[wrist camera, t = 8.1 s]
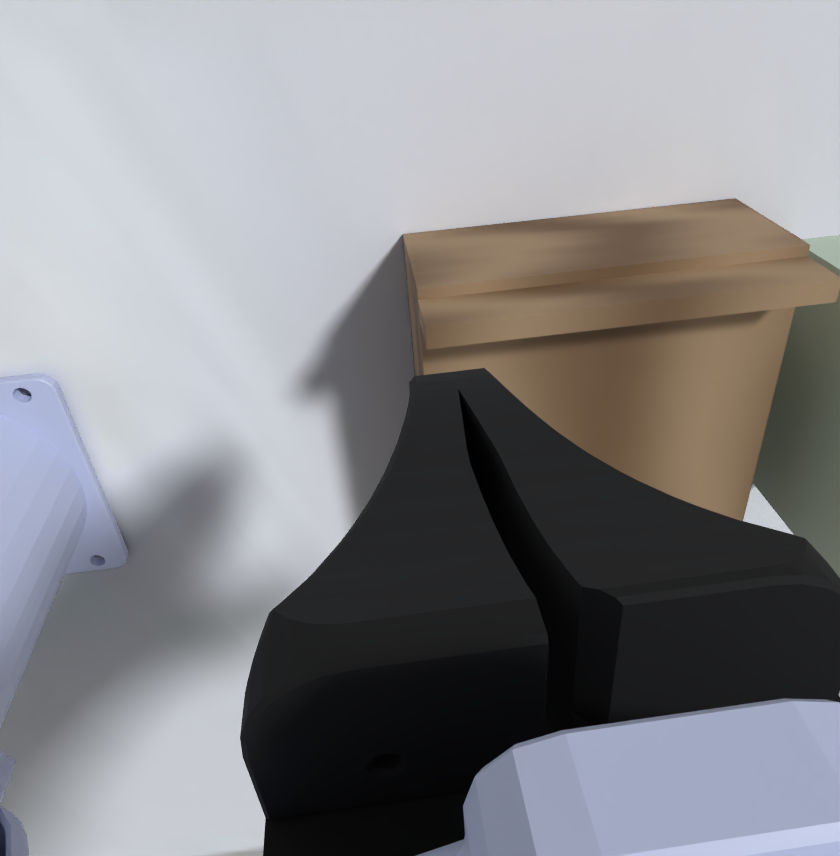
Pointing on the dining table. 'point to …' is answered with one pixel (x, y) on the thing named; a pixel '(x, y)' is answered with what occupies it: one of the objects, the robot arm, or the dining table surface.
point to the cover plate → (808, 422)
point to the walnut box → (626, 331)
